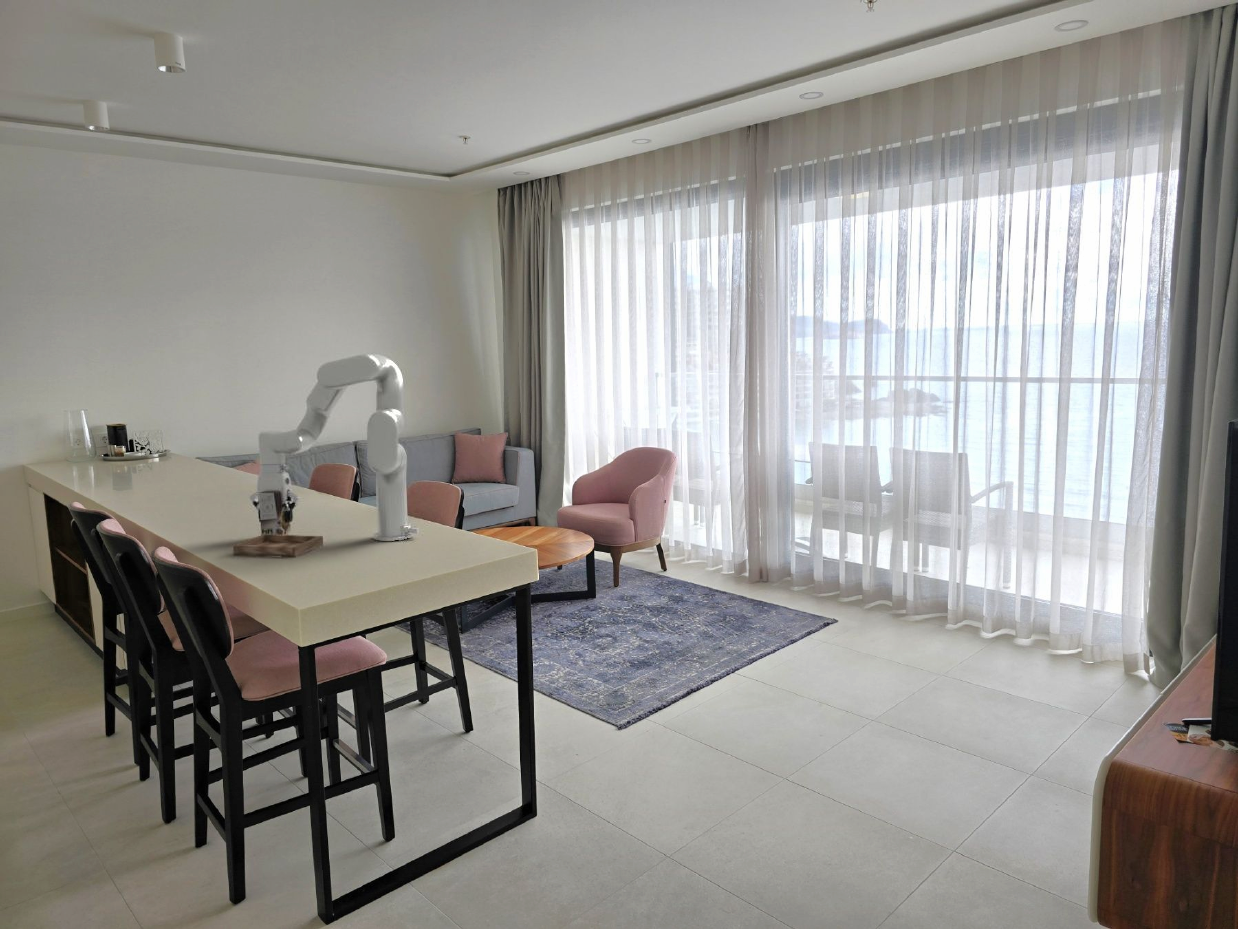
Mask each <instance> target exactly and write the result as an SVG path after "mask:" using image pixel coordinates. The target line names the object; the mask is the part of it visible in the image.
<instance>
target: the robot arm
mask: <svg viewBox="0 0 1238 929" xmlns="http://www.w3.org/2000/svg"><path fill="white" fill-rule="evenodd" d="M316 379H317V382H316V383H315V385H314V386H313V387H312V389H311V391H310V393H309V394H308V396H306V402H305V403H306V411H305V415H304V416H303V418H302V419H301V422H299V425H298V426H297V427H296V429H293V430H289V431H281V430H263V431H261V432H259V433H258V449H259V450H258V451H259V452H258V453H259V454H258V455H259V467H260V471H259V473H258V476H257V485H256V486H257V487H256V490H257V491H256V492H254V493H253V494H251V495H249V499H250V501H251V503H252V505H253V506H254V507H255V509H256V510H257V514H258V519H259V520H258V522H259V523H261V520H260V501H259V493H260V492H269V491H277V492H280V494H281V503H282V505H283V506H284V507H285V509H286V511H285V522H286V523H289V522H291V523H292V522H293V519H294V514H293V510H294V509H295V507H296V506H297V505H298V503H299V501H300V499H301V498H300V496H299V495H297V494H295V493H294V492H293V488H292V482H291V476H290V475H289V472H287V471H289V469H290V467H289V465H287V464H286V455H297V454H300V453H303V452H307V451H308V450H310V449H311V448H312V447H313V446H314V445H315V444H316V443H317V440H319V437H320V436H321V434H322V432H323V431H324V430H325V427H326V425H327V423H328V421H329V418H330V415H331V414H332V412H333V410H334V408H335V407H336V405H337V404H338V402H339V401H340V400H341V398H342V397H343V394H344V393H345V391H346V390H347V388H348V386H353V385H357V384H362V383H367V382H372V381H375V383H376V394H375V397H376V398H375V399H376V404H375V406H376V409H375V411H374V412H373V413H372V414H371V415H370V417H369V419H368V422H367V427H366V457H367V459H366V460H367V463H368V466H369V468H370V470H372V471H373V472H374V473H375V474H376V475H375V495H376V499H375V500H376V516H377V517H376V519H377V520H376V522H377V523H376V524H377V532H376V533H374V534H373V535H372V539H373V540H376V541H378V540H379V541H380V542H396V541H395V540H399V541H404V539H405V540H408V539H407V538H409V539H411V538H413V536H414V534H419V532H420V527H419V526H412V525H411V522H409V521H408V498H407V497H408V496H407V494H408V493H407V468H408V466H407V464H408V456H407V452H406V450H405V448H404V446H403V445H402V444H400V443H399V435H400V434H402V432H403V430H404V427H405V410H404V409H405V401H404V400H405V399H404V380H403V379H404V378H403V374H402V372H401V369H400V368H399V367H398V365H397V364H396V363H395V362H394V361H393V360H392V359H390V358H388V357H387V356H384V355H382V354H378V353H362V354H361V353H360V354H357V355H353V356H348V357H345V358H342V359H341V358H340V359H337V360H331V361H327V362H324V363H323V364H321V365H320V367H319V368H318V370H317V372H316Z"/></svg>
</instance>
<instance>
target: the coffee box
mask: <svg viewBox="0 0 1238 929" xmlns="http://www.w3.org/2000/svg"><path fill="white" fill-rule="evenodd" d="M259 501H260V520H261V522H260V536H261V535H263V534H272V535H293V534H292V522H289V523H286V522H285V511H286V509H285V507H284V506H283V505H282V503H281V494H280V492H277V491H269V492H260V493H259Z"/></svg>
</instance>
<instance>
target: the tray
mask: <svg viewBox="0 0 1238 929" xmlns="http://www.w3.org/2000/svg"><path fill="white" fill-rule="evenodd" d="M323 546H324V538H323V535H302V534H301V535H299V534H295V535H294V534H292V535H272V534H263V535H261V534H260V535H258V536H255V537H253V538H249V539H247V540H244V541H241V542H239V543H235V544H234V545H232V551H233V553H232V554H233V556H239V555H246V556H245V557H267V556H281V557H280V558H298V557H300V556H303V555H304V553H305V554H307V553H309V552H312V551H314V550H316V549H318V547H319V548H320V547H323ZM313 549H314V550H313ZM302 554H303V555H302ZM297 556H298V557H297Z"/></svg>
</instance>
